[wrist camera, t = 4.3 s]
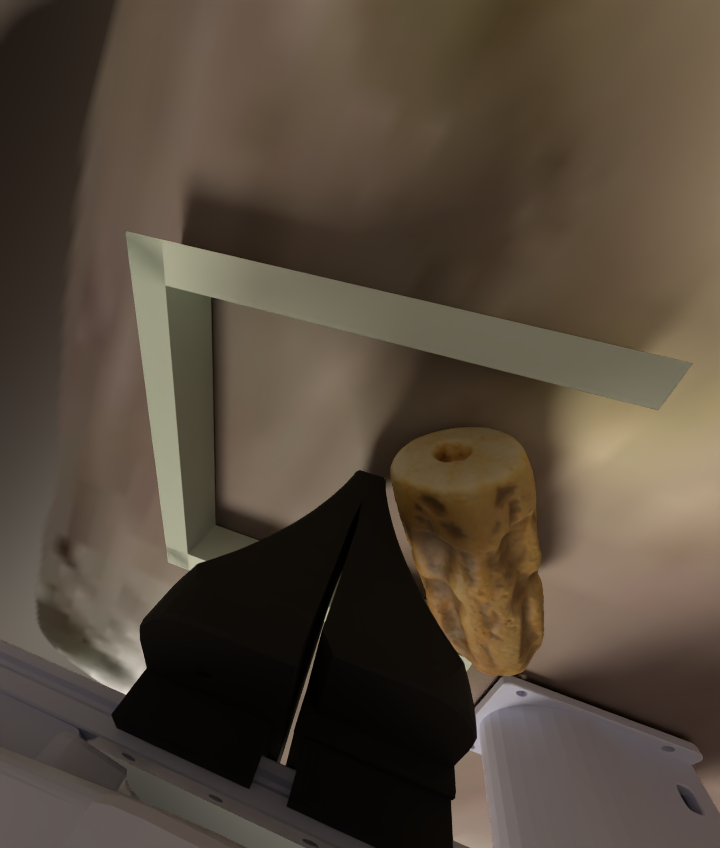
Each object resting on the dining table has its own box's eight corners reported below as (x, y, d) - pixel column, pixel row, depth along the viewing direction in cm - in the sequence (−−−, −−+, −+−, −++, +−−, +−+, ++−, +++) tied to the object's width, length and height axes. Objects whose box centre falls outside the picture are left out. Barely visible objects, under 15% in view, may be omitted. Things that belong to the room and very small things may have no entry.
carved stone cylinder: (527, 584, 12) (572, 700, 9) (431, 586, 13) (435, 688, 10) (508, 412, 10) (561, 473, 6) (391, 433, 11) (377, 495, 7)
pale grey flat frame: (634, 350, 8) (692, 363, 6) (459, 628, 14) (464, 674, 12) (180, 244, 10) (125, 231, 8) (197, 533, 16) (168, 562, 14)
